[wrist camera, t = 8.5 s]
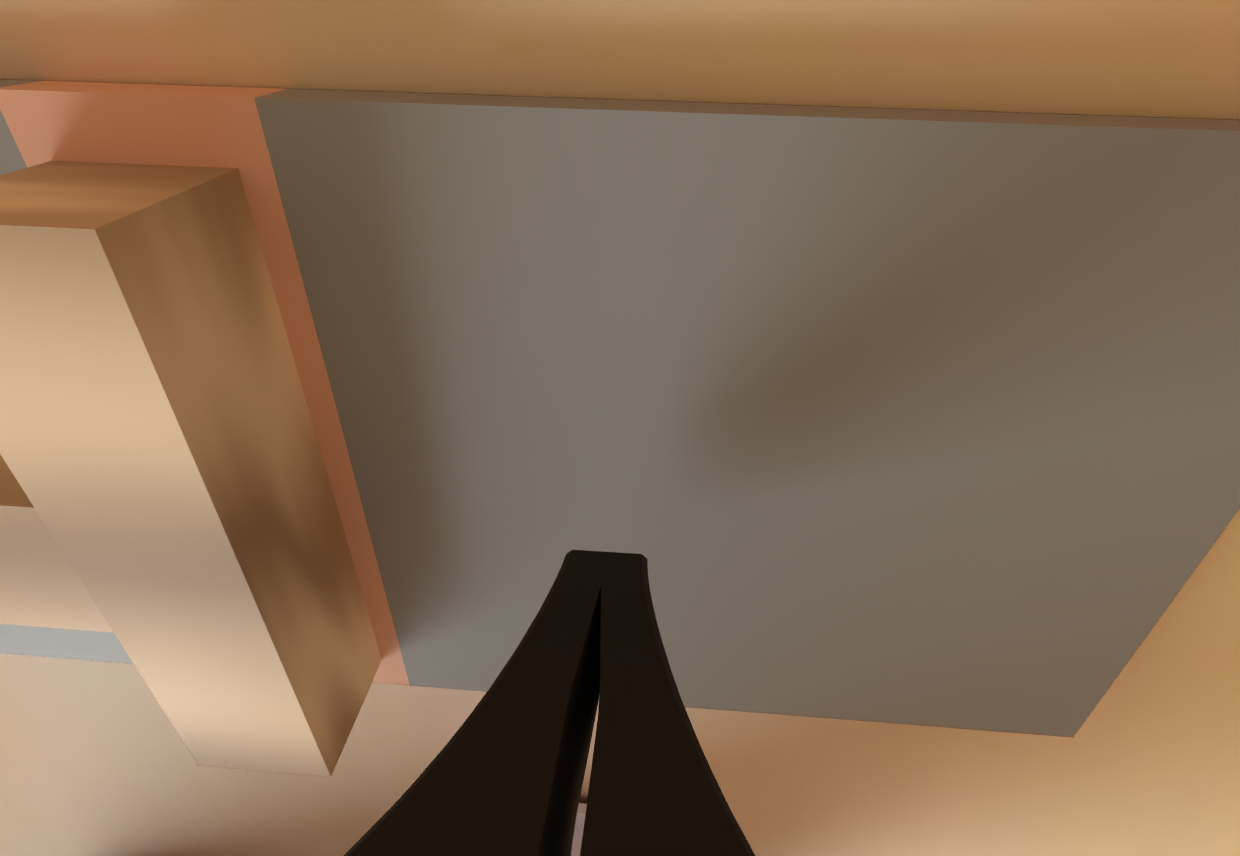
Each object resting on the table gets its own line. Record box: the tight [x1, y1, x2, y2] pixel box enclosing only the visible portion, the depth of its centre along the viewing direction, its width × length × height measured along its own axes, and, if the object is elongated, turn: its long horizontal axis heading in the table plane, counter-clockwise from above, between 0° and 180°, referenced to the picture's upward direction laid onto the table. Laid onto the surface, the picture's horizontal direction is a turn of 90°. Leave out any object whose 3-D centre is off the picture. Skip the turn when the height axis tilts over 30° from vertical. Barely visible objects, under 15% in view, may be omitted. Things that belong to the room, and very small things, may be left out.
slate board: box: [0, 79, 1240, 737], centre depth 14 cm, size 14×32×1 cm, turn 89°
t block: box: [0, 161, 382, 777], centre depth 12 cm, size 12×11×3 cm
